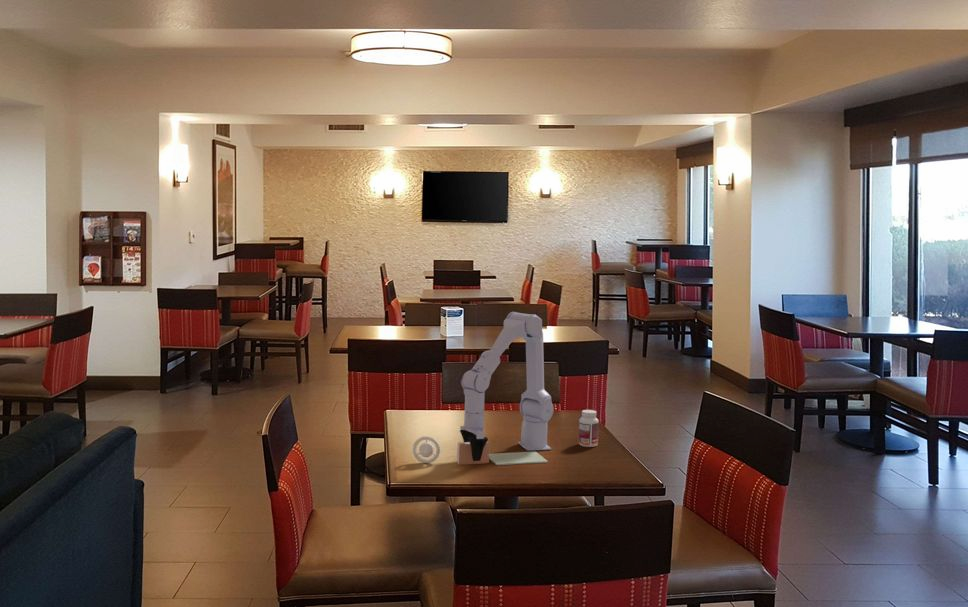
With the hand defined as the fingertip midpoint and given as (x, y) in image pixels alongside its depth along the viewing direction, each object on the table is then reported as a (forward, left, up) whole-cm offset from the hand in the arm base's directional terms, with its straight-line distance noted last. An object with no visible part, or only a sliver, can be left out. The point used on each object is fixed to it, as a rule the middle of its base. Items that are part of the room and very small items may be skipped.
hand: (473, 457), depth 264 cm
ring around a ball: (-1, -14, -2) cm, 14 cm away
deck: (0, 0, -2) cm, 2 cm away
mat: (-2, +14, -2) cm, 14 cm away
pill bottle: (-13, +42, -2) cm, 44 cm away
